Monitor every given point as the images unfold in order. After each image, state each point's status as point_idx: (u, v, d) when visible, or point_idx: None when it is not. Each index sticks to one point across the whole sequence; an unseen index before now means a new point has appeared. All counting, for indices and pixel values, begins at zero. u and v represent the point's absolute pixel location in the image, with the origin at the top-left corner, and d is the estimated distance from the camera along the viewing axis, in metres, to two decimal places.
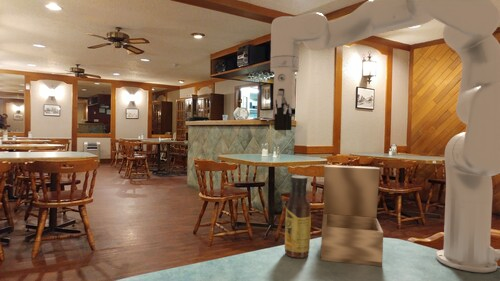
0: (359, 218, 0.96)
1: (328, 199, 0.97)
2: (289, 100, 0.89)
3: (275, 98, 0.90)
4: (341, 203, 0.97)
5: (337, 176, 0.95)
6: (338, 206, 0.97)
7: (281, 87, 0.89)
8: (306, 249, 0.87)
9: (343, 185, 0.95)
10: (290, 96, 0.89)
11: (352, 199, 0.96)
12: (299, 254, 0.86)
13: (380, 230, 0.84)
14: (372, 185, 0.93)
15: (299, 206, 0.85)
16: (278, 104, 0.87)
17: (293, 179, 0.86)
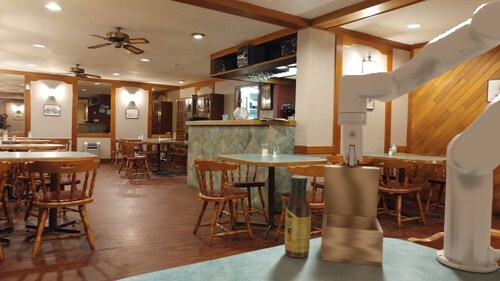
0: (359, 218, 0.96)
1: (328, 199, 0.97)
2: (360, 156, 0.92)
3: None
4: (341, 203, 0.97)
5: (337, 176, 0.95)
6: (338, 206, 0.97)
7: (352, 143, 0.92)
8: (306, 249, 0.87)
9: (343, 185, 0.95)
10: (361, 152, 0.92)
11: (352, 199, 0.96)
12: (299, 254, 0.86)
13: (380, 230, 0.84)
14: (372, 185, 0.93)
15: (299, 206, 0.85)
16: None
17: (293, 179, 0.86)
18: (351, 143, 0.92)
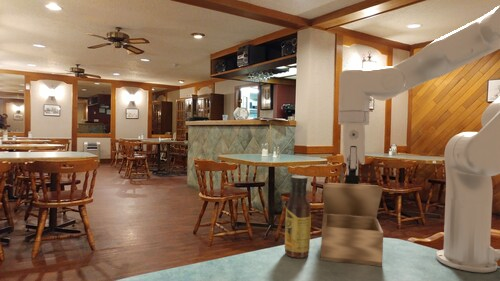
0: (359, 218, 0.96)
1: (328, 205, 0.95)
2: (362, 158, 0.85)
3: (346, 163, 0.87)
4: (341, 208, 0.95)
5: (336, 193, 0.90)
6: (338, 210, 0.96)
7: (353, 144, 0.85)
8: (306, 249, 0.87)
9: (343, 198, 0.91)
10: (363, 154, 0.85)
11: (352, 206, 0.94)
12: (299, 254, 0.86)
13: (380, 230, 0.84)
14: (374, 199, 0.89)
15: (299, 206, 0.85)
16: None
17: (293, 179, 0.86)
18: (352, 144, 0.85)
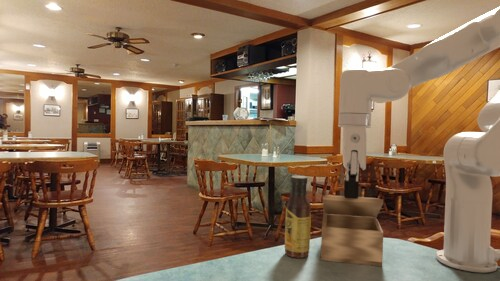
0: (359, 218, 0.96)
1: (328, 209, 0.95)
2: (363, 163, 0.80)
3: (346, 168, 0.82)
4: (341, 211, 0.95)
5: (336, 203, 0.88)
6: (338, 212, 0.96)
7: (354, 148, 0.81)
8: (306, 249, 0.87)
9: (343, 206, 0.90)
10: (364, 159, 0.80)
11: (352, 211, 0.93)
12: (299, 254, 0.86)
13: (380, 230, 0.84)
14: (374, 208, 0.88)
15: (299, 206, 0.85)
16: None
17: (293, 179, 0.86)
18: (353, 148, 0.81)
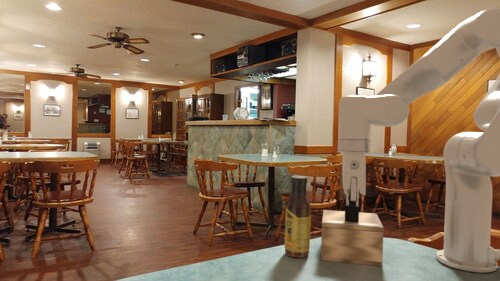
0: None
1: None
2: (363, 190, 0.81)
3: (346, 194, 0.83)
4: None
5: None
6: None
7: (354, 175, 0.81)
8: (306, 249, 0.87)
9: None
10: (364, 185, 0.81)
11: None
12: (299, 254, 0.86)
13: None
14: None
15: (299, 206, 0.85)
16: None
17: (293, 179, 0.86)
18: (353, 175, 0.81)
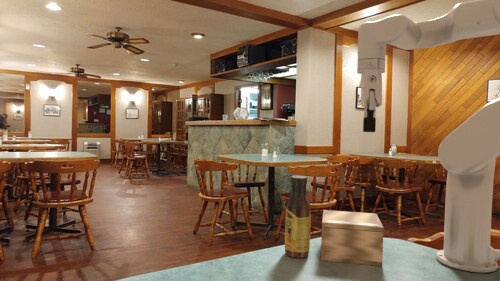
0: None
1: None
2: (380, 99, 0.95)
3: (365, 105, 0.98)
4: None
5: None
6: None
7: (372, 87, 0.96)
8: (306, 249, 0.87)
9: None
10: (381, 96, 0.95)
11: None
12: (299, 254, 0.86)
13: None
14: None
15: (299, 206, 0.85)
16: None
17: (293, 179, 0.87)
18: (371, 87, 0.96)
